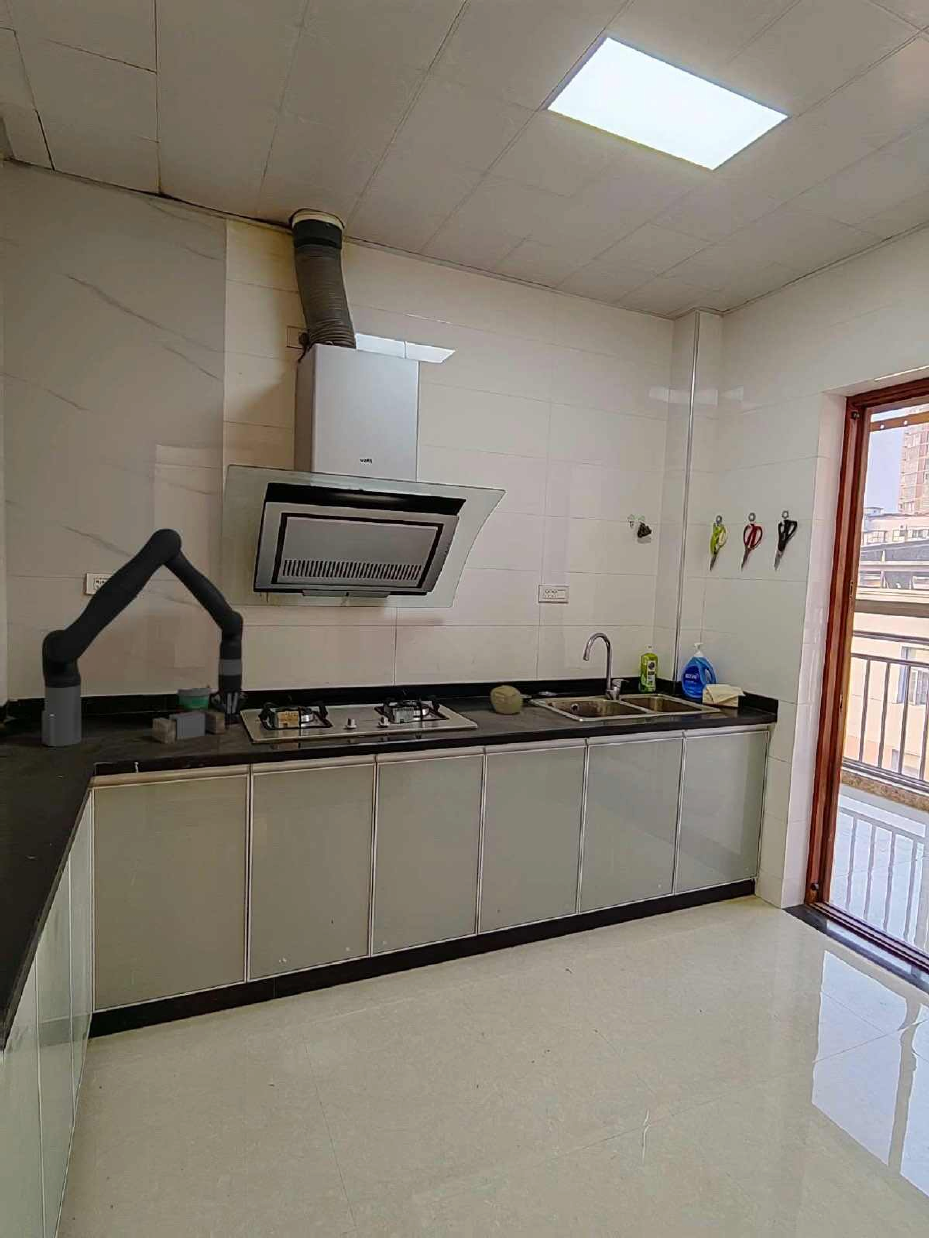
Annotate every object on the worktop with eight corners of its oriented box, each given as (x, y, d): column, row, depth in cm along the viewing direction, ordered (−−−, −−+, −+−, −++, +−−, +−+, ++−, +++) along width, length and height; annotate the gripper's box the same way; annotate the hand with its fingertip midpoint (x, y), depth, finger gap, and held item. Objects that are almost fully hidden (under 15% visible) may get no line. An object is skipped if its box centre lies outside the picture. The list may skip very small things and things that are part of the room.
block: (177, 740, 214) (177, 718, 213) (169, 737, 217) (169, 715, 216) (204, 735, 221) (204, 713, 220) (196, 732, 224) (196, 711, 223)
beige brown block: (165, 743, 209) (165, 724, 209) (152, 738, 215) (152, 719, 214) (176, 741, 212) (176, 722, 211) (163, 736, 217) (163, 717, 217)
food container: (186, 720, 238) (186, 691, 237) (176, 717, 242) (176, 688, 241) (218, 714, 248) (218, 687, 247) (208, 711, 252) (208, 684, 251)
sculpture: (485, 711, 274) (486, 684, 273) (506, 708, 282) (508, 681, 281) (506, 717, 266) (507, 689, 265) (527, 713, 274) (529, 686, 273)
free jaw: (214, 733, 222) (214, 715, 221) (201, 728, 227) (201, 710, 226) (224, 732, 224) (224, 713, 224) (211, 727, 229) (211, 709, 229)
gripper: (241, 668, 236) (240, 718, 237) (205, 672, 226) (204, 724, 227) (254, 671, 231) (253, 723, 232) (217, 675, 221) (216, 729, 222)
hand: (229, 723), depth 230 cm, fingers closed
